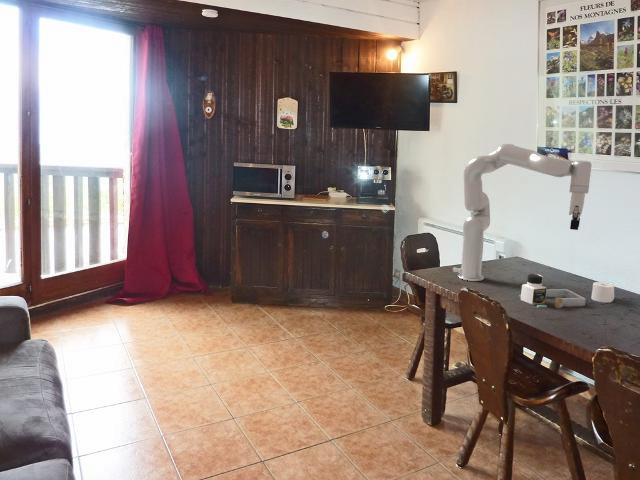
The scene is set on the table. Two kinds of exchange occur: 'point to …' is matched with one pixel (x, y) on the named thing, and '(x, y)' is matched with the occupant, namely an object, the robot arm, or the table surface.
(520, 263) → the table surface
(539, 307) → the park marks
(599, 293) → the toilet paper
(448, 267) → the table surface
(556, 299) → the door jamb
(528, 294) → the medicine bottle
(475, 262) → the robot arm
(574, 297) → the index socket
